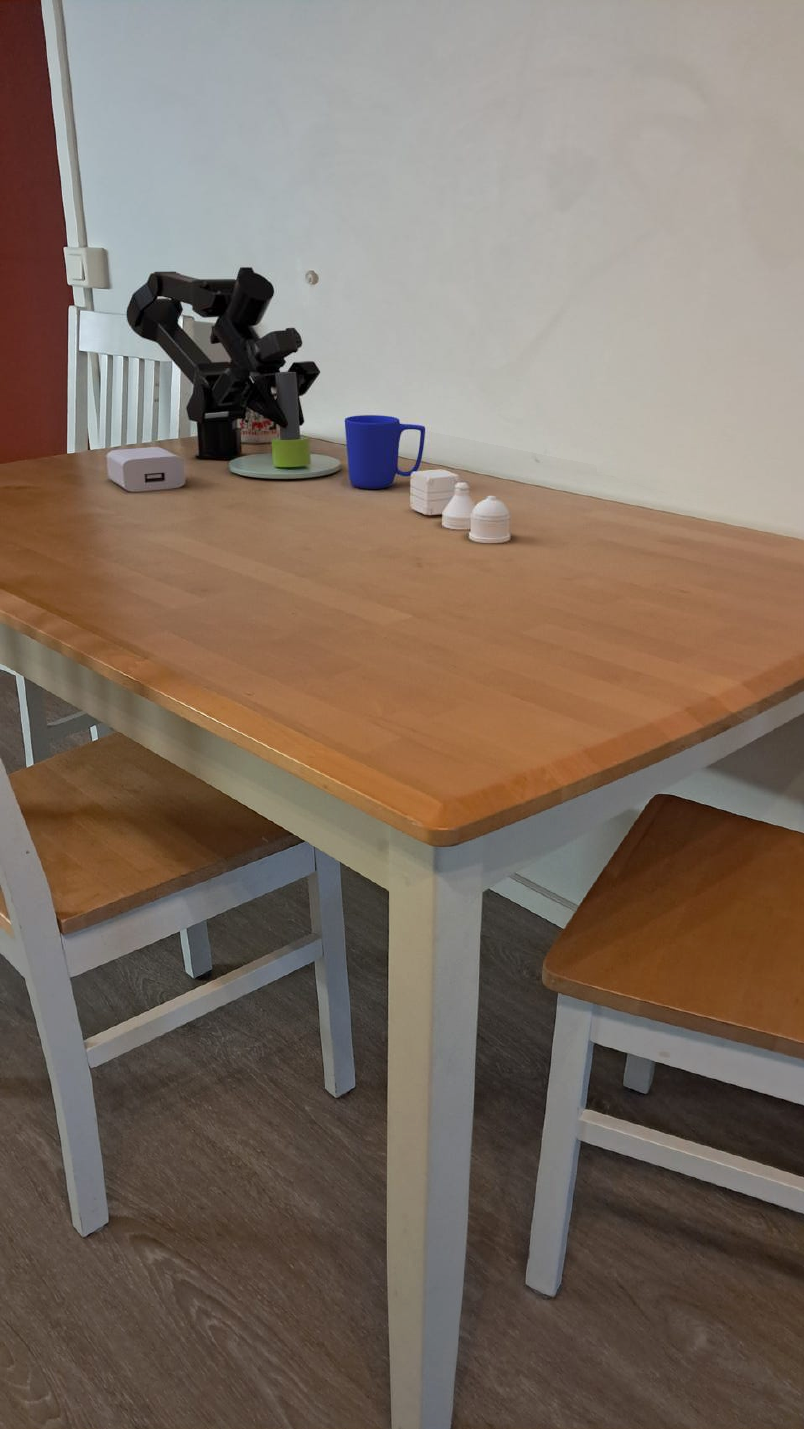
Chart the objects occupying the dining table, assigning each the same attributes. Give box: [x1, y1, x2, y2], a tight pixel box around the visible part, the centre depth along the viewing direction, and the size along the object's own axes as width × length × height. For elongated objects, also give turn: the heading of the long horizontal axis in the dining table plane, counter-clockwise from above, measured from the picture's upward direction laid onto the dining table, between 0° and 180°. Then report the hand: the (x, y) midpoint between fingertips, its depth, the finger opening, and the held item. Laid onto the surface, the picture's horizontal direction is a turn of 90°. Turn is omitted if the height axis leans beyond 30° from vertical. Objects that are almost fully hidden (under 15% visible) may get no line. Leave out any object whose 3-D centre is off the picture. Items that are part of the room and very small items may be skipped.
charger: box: [106, 446, 186, 493], centre depth 164 cm, size 5×9×15 cm
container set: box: [409, 468, 511, 544], centre depth 140 cm, size 20×5×6 cm, turn 27°
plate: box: [228, 452, 341, 480], centre depth 173 cm, size 18×18×1 cm
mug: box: [344, 414, 426, 490], centre depth 161 cm, size 8×12×10 cm
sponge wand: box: [271, 371, 311, 467], centre depth 167 cm, size 6×6×14 cm
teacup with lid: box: [237, 388, 280, 445], centre depth 197 cm, size 12×9×12 cm
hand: (294, 425), depth 167 cm, fingers closed on sponge wand, 3 cm apart
